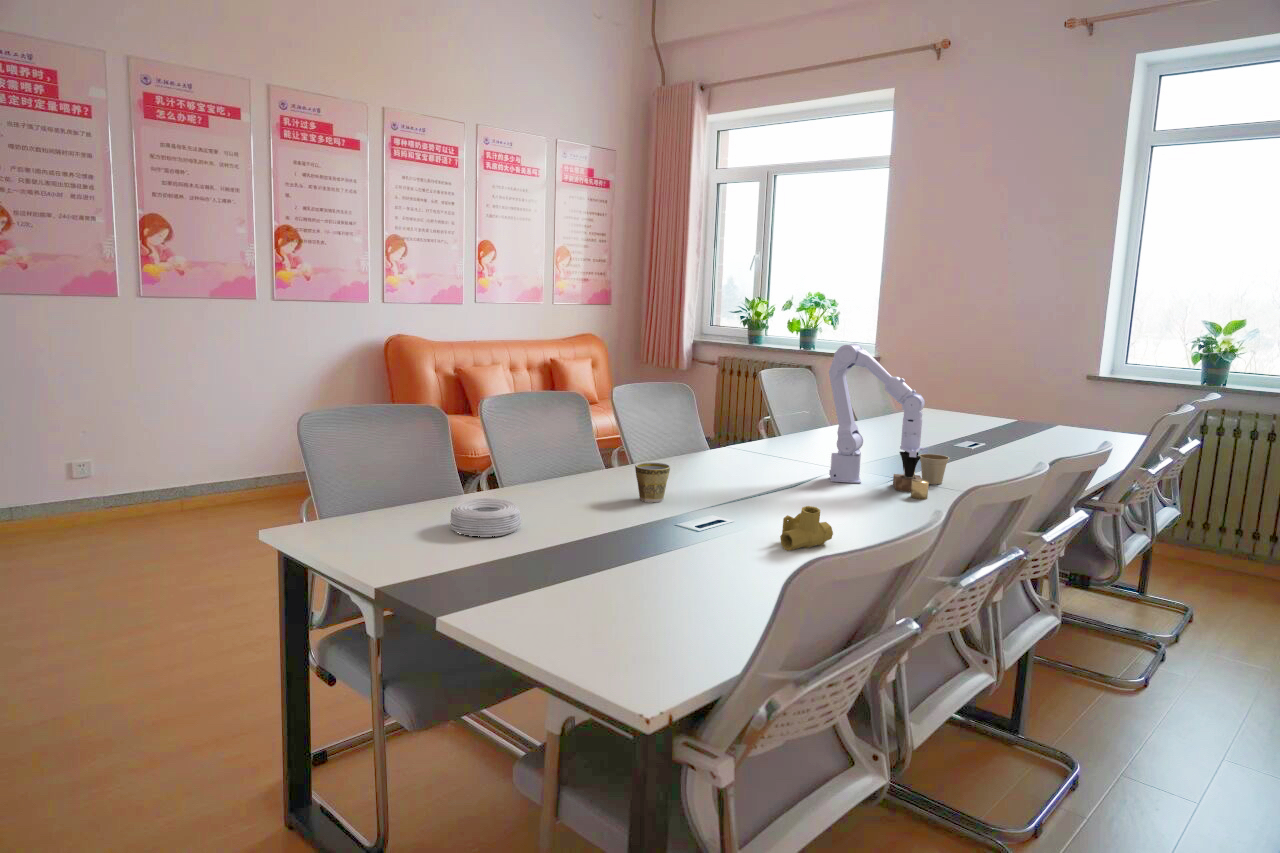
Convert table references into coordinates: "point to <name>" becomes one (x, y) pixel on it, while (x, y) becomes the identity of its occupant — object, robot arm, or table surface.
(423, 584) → the table surface
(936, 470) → the flower pot
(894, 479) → the block
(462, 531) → the cable
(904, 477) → the square bit
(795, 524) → the tan pipe tee fitting
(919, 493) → the round bit
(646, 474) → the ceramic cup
